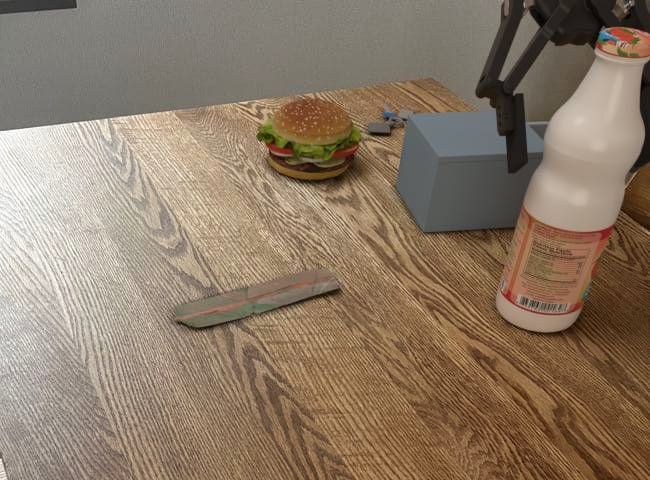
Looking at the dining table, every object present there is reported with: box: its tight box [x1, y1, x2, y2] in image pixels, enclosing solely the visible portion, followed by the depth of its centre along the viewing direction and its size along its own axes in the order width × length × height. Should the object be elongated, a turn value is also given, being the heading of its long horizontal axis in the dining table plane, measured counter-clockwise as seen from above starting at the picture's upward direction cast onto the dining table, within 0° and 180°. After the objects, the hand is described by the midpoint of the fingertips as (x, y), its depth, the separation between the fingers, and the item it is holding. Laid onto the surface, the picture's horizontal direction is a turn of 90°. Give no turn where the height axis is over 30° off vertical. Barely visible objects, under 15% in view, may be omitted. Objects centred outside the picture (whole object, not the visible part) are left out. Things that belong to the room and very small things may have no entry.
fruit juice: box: [495, 27, 650, 333], centre depth 83 cm, size 9×9×28 cm
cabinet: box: [395, 110, 544, 233], centre depth 106 cm, size 15×13×10 cm
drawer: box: [525, 120, 641, 174], centre depth 108 cm, size 19×11×8 cm, turn 100°
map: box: [173, 267, 340, 328], centre depth 93 cm, size 5×20×1 cm, turn 118°
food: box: [256, 97, 363, 181], centre depth 114 cm, size 14×14×8 cm
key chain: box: [367, 103, 415, 134], centre depth 127 cm, size 14×8×1 cm, turn 124°
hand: (582, 165), depth 81 cm, fingers open, 13 cm apart
